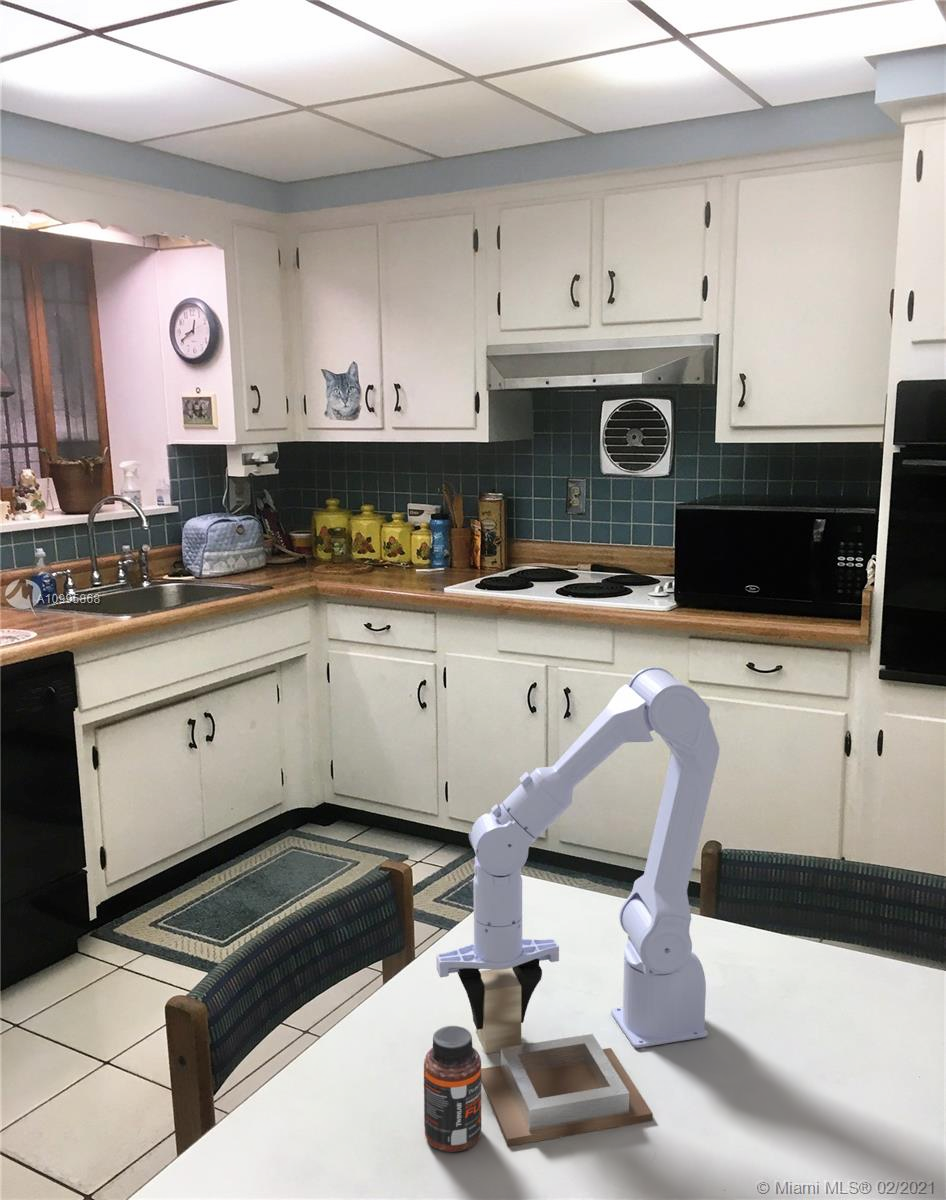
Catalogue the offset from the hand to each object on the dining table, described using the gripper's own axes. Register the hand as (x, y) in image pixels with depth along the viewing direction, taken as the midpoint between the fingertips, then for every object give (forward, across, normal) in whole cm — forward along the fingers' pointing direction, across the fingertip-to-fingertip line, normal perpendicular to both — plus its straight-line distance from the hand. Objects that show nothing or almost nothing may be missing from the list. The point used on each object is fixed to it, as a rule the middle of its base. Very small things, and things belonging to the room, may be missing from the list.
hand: (498, 1021), depth 123 cm
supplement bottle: (+3, +9, +15) cm, 18 cm away
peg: (+2, 0, 0) cm, 2 cm away
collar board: (+2, -4, +12) cm, 13 cm away
